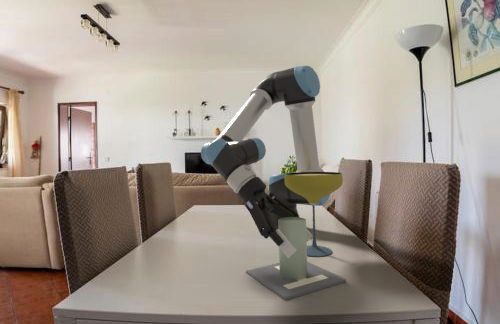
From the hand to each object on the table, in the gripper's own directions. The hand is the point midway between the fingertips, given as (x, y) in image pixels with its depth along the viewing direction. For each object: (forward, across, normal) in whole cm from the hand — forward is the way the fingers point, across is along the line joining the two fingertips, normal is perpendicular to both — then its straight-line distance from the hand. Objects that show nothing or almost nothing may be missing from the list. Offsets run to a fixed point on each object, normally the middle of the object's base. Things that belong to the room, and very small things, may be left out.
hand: (301, 246), depth 76 cm
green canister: (+4, 0, +7) cm, 8 cm away
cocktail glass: (+4, +22, +8) cm, 24 cm away
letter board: (+4, 0, +7) cm, 8 cm away
